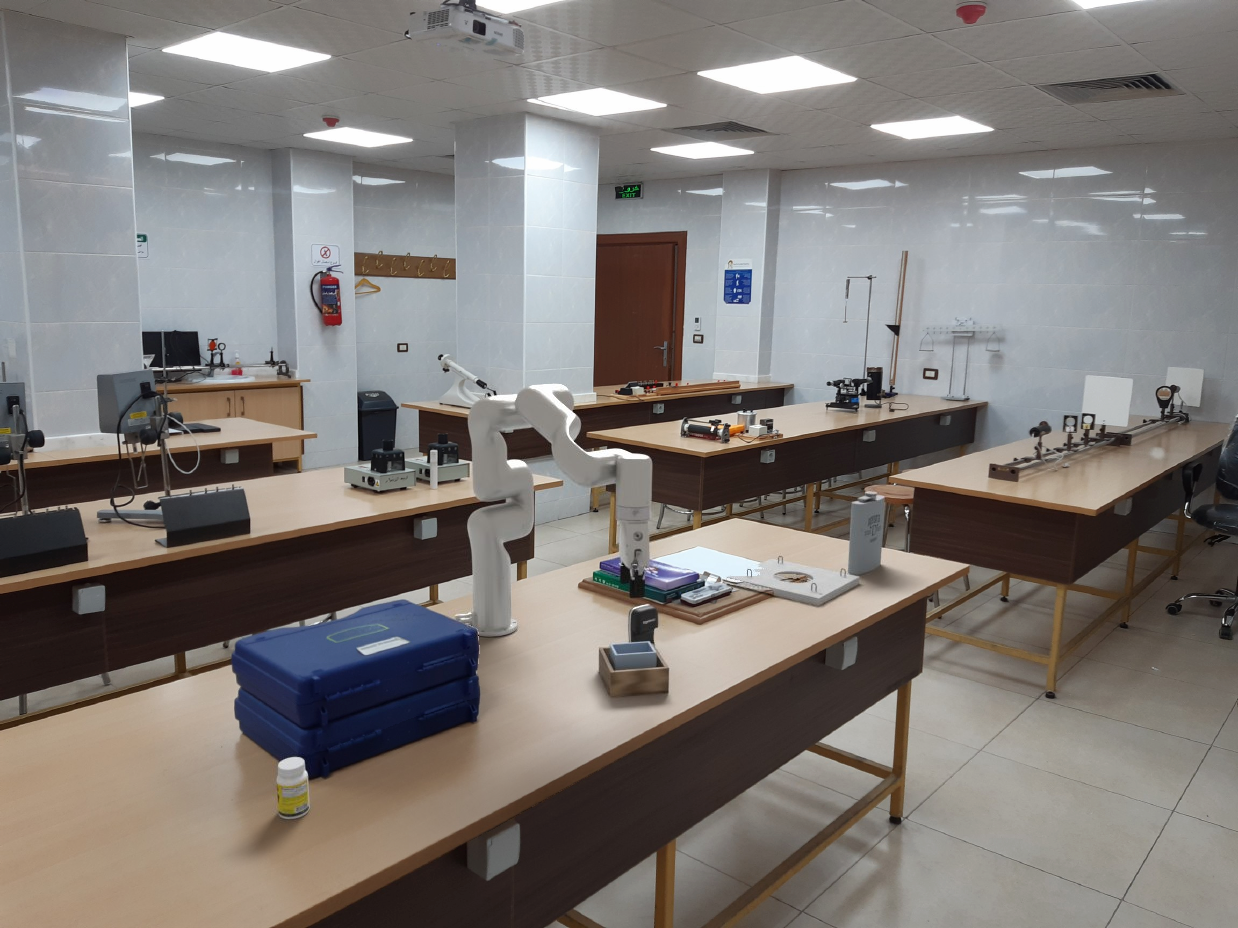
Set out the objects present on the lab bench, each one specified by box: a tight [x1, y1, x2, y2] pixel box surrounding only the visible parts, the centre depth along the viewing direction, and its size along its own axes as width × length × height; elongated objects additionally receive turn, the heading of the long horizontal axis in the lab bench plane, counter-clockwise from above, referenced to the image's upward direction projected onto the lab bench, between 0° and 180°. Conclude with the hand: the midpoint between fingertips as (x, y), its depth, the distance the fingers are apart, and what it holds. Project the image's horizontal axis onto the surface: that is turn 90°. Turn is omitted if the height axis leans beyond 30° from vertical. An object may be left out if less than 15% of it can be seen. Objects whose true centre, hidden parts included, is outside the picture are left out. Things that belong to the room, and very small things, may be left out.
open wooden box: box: [598, 643, 670, 698], centre depth 188 cm, size 12×14×6 cm
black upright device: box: [627, 603, 659, 647], centre depth 203 cm, size 7×4×11 cm, turn 128°
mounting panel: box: [726, 555, 861, 607], centre depth 258 cm, size 27×5×30 cm
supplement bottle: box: [275, 756, 311, 820], centre depth 137 cm, size 5×5×8 cm
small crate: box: [609, 641, 657, 671], centre depth 187 cm, size 9×6×7 cm
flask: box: [847, 490, 886, 576], centre depth 273 cm, size 17×5×25 cm, turn 138°
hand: (632, 590), depth 185 cm, fingers open, 9 cm apart
